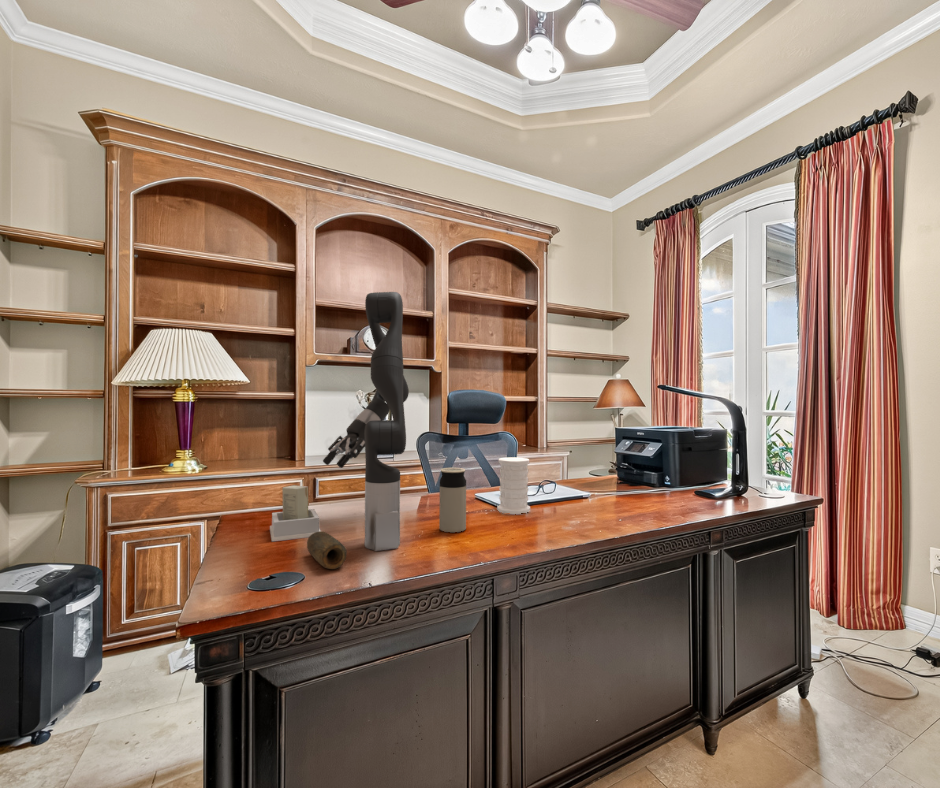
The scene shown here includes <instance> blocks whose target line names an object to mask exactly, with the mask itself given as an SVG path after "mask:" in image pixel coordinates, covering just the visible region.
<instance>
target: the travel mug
mask: <svg viewBox="0 0 940 788" xmlns="http://www.w3.org/2000/svg"><path fill="white" fill-rule="evenodd" d="M440 472H441V477H440V479H439V514H438V515H439V517H438V518H439V522H438V523H439V525H438V529H439V530H440V531H442V532H443V531H444V532H443V533H448V532H450V533H451V534H453V533H455V532H457V533H461V531H462V532H464V531H465V530H466V529H467V479H466V477H465V472H466V469H465V468H461V467H443V468H440ZM450 533H449V534H450ZM455 534H456V533H455Z"/></svg>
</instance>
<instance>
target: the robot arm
mask: <svg viewBox="0 0 940 788" xmlns="http://www.w3.org/2000/svg"><path fill="white" fill-rule="evenodd" d="M364 305H365V308H364V309H365V314H366V319H367V322H368V325H369V326H368V327H369V329H370V334H371V336H372V339H373V342H374V346H375V349H374V351H373V352H372V355H371V357H370V380H371V382H372V384H373V386H374V387H375V389H376V391H375V393H374V394H373V397H372V398H371V399H372V400H371V401H370V402H369V404H368V405H366V407H365V408H364V409H363V410H362V411H361V412H360V413H359V414H358V415H357V416H356V417H355V419H354V420H353V421H352V422H351V423H350V424H349V426H347V428H346V435H345V436H344V437H342V436H341V435H340V436H338V437H337V438H336V439H335V440H334V441H333V443H331V445H330V446H329V447H328V449H327V450H328V451H329V452H328V454H327V455H326V456H325V457H324V458H323V459H322V462H323V463H324V464H325V465H326V466H329V465H330V464H331V462H332V461H333V460H334V459H335V458H336V457H337V456H338V455H340V454H343V453H344V454H343V455H341V457H340V458H339V460H338V461H337V462H336V465H337V466H338V467H339V468H340V469H342V468H344V467H345V465H346V464H347V463H348V461H350V460H353V458H354V459H356V458H357V457H358V456H359V455H360V454H361V452H362V451H363V450H364V451H365V452H364V454H365V457H364V458H365V469H364V470H365V475H364V547H365V548H366V549H367V550H373V551H375V552H379V551H387V550H394V549H399V546H400V545H401V544H400V543H401V542H400V541H401V536H400V535H401V471H400V469H399V468H397V467H394V466H391V465H389V464H388V465H387V464H386V463H384V462H382V461H381V460H380V459H379V458H378V456H390V455H392V456H394V455H395V456H396V455H402V454H404V453H405V450H406V447H407V432H406V430H407V429H406V417H405V406H404V403H405V402H406V401H407V399H408V398H409V395H410V394H409V391H410V390H409V385H408V383H407V380H406V378H405V375H404V355H403V353H404V352H403V319H404V318H403V317H404V316H403V315H404V313H403V312H404V302H403V298H402V295H401V294H400V293H399V292H397V291H382V292H381V291H376V292H375V291H374V292H370V293H367V295H366V296H365V303H364ZM383 323H384V324H386V323H387V324H388V323H389V324H390V325H389V327H388V329H387V332H386V334H385V332H384V331H383V330H382V327H381V324H383ZM389 413H391V416H392V420H391V419H388V420H385V418H386V417H387V416H388V414H389Z"/></svg>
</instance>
